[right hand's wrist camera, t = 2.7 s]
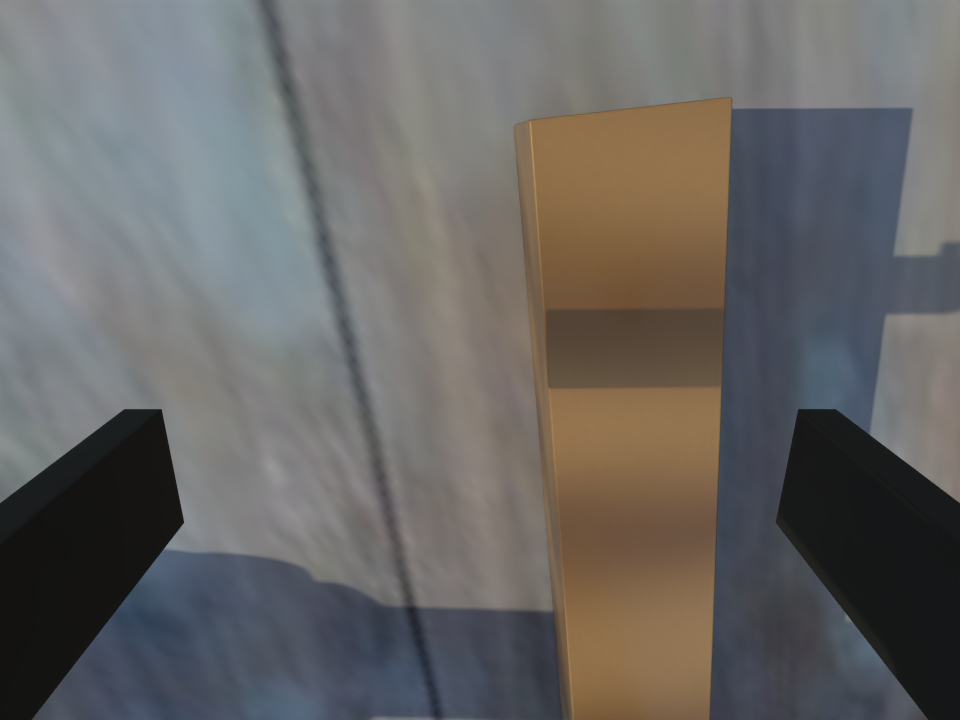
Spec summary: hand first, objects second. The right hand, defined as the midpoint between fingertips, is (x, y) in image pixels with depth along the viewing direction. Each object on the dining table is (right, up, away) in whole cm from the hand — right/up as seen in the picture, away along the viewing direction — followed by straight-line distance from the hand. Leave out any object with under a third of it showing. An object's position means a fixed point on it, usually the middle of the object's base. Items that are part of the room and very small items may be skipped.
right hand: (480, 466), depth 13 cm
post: (+7, -11, +21) cm, 25 cm away
